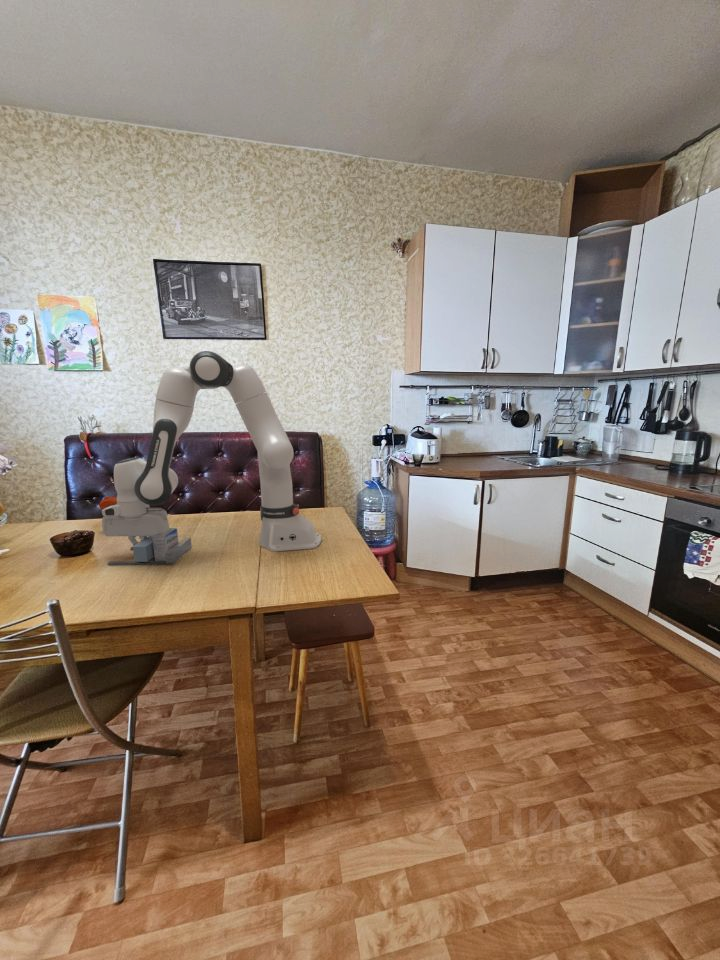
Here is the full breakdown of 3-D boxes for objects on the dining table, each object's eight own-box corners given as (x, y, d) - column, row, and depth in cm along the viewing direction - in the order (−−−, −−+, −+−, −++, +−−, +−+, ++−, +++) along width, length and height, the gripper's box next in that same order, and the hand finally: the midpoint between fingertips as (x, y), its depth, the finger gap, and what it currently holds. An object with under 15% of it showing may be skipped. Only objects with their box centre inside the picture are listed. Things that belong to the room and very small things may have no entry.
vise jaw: (168, 545, 135) (167, 531, 134) (147, 561, 122) (145, 546, 121) (157, 545, 135) (155, 531, 134) (134, 561, 122) (132, 546, 121)
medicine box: (168, 561, 125) (165, 536, 123) (154, 561, 125) (151, 535, 123) (179, 552, 133) (177, 527, 131) (167, 551, 133) (164, 527, 131)
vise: (191, 548, 136) (190, 537, 135) (172, 565, 122) (171, 553, 121) (132, 548, 136) (131, 537, 135) (107, 565, 122) (105, 553, 121)
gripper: (170, 505, 129) (174, 544, 131) (108, 505, 129) (114, 544, 131) (161, 510, 122) (165, 551, 125) (96, 510, 122) (102, 551, 125)
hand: (139, 548), depth 128 cm, fingers closed
